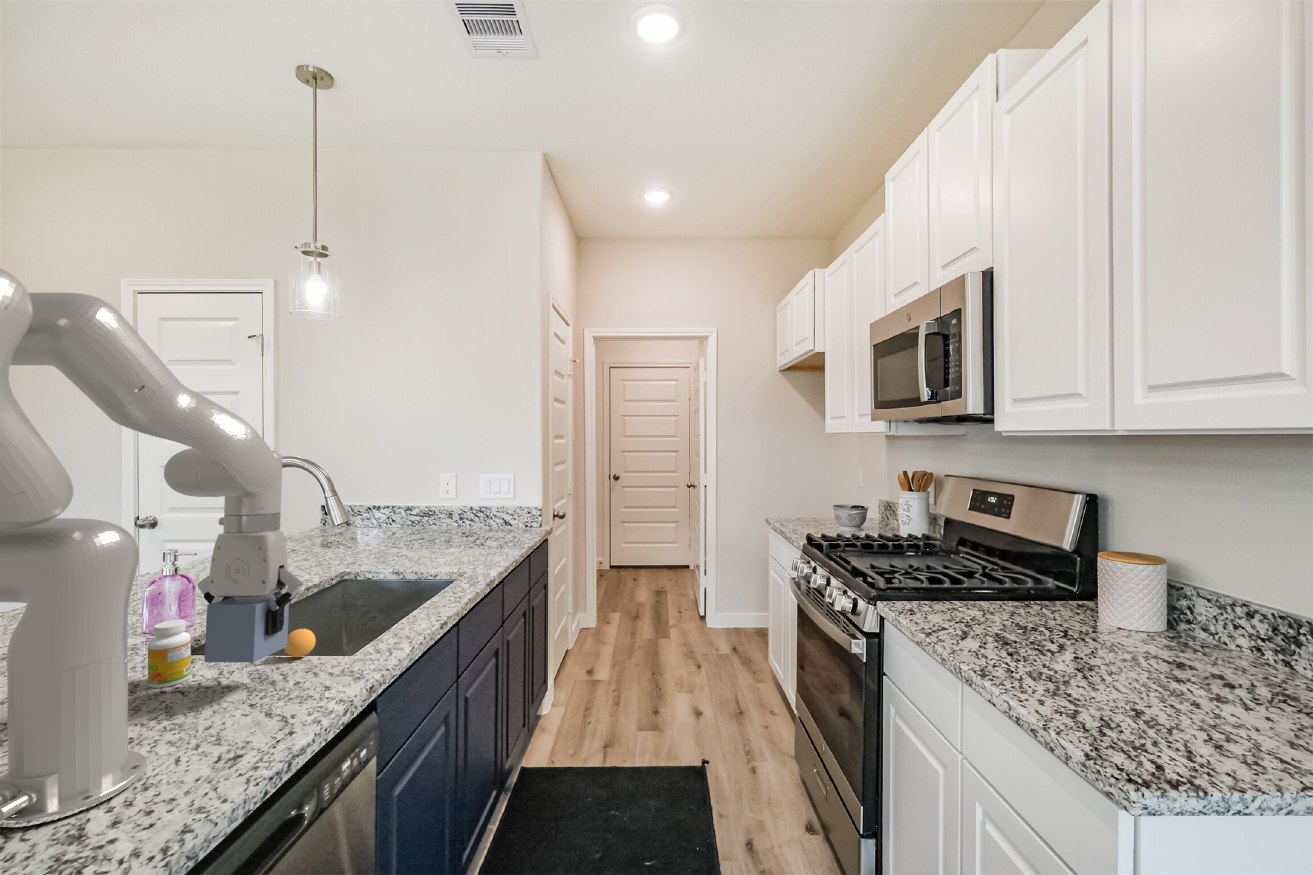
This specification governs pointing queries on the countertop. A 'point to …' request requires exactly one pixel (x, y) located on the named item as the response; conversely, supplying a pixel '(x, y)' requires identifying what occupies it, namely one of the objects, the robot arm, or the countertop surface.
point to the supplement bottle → (169, 654)
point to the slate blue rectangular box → (241, 631)
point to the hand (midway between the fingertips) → (248, 632)
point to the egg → (300, 643)
